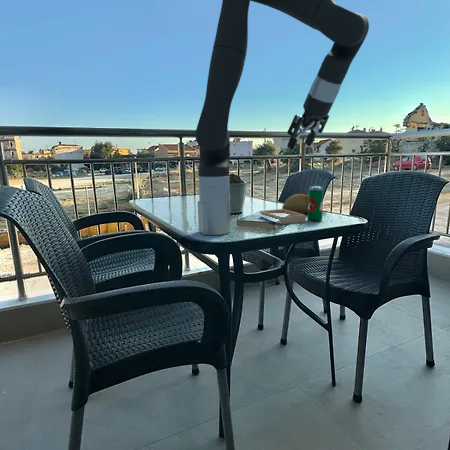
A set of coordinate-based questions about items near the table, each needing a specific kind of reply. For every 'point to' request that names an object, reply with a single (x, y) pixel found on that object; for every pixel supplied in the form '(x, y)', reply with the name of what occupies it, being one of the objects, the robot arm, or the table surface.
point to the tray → (290, 219)
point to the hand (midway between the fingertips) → (298, 146)
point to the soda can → (315, 203)
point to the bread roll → (297, 203)
